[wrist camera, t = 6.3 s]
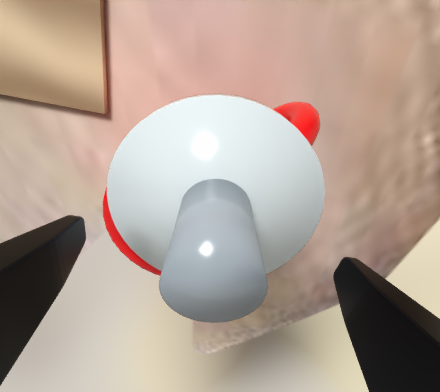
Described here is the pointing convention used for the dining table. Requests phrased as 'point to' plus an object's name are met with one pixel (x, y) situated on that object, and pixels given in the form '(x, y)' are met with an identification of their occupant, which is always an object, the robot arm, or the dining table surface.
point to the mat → (54, 52)
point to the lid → (215, 200)
